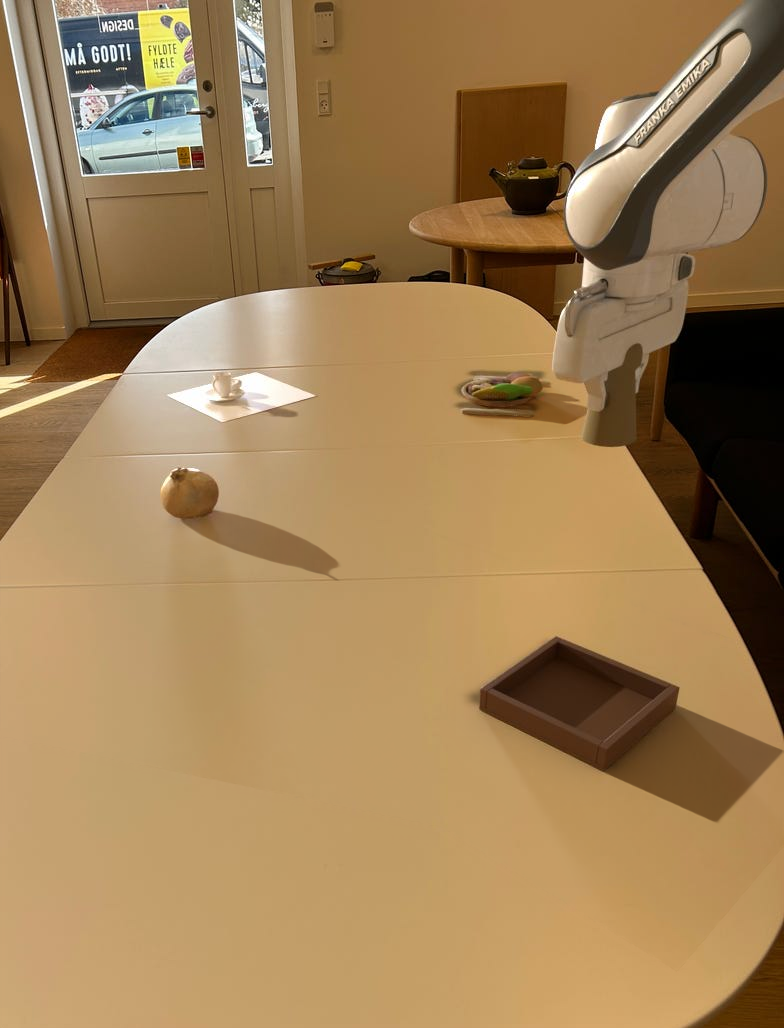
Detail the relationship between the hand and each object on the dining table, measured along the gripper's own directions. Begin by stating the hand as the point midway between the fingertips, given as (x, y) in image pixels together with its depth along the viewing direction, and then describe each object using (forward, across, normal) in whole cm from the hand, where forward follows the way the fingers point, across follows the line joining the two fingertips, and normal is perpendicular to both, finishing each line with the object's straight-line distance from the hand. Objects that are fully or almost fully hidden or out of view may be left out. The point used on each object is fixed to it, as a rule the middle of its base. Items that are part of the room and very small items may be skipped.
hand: (612, 401), depth 107 cm
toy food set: (+20, +42, +46) cm, 65 cm away
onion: (+19, -25, +49) cm, 58 cm away
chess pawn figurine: (+4, 0, 0) cm, 4 cm away
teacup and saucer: (+19, +13, +83) cm, 86 cm away
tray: (+20, -27, -15) cm, 37 cm away
